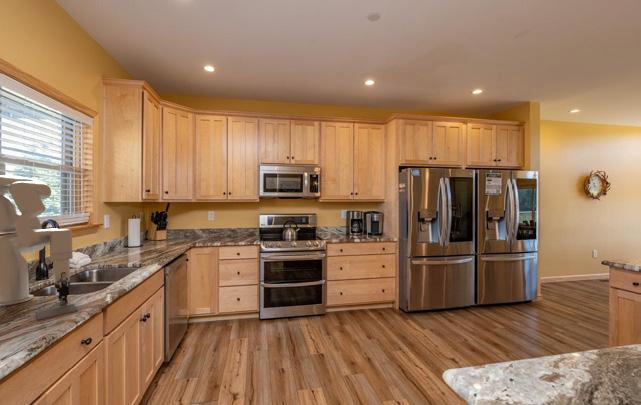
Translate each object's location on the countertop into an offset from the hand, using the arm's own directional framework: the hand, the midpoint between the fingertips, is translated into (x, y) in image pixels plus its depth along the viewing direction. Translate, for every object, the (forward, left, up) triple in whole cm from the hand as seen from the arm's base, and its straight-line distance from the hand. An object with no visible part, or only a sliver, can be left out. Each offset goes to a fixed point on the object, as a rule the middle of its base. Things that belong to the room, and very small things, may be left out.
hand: (62, 293), depth 128 cm
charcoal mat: (+12, -3, -4) cm, 13 cm away
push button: (0, 0, -5) cm, 5 cm away
